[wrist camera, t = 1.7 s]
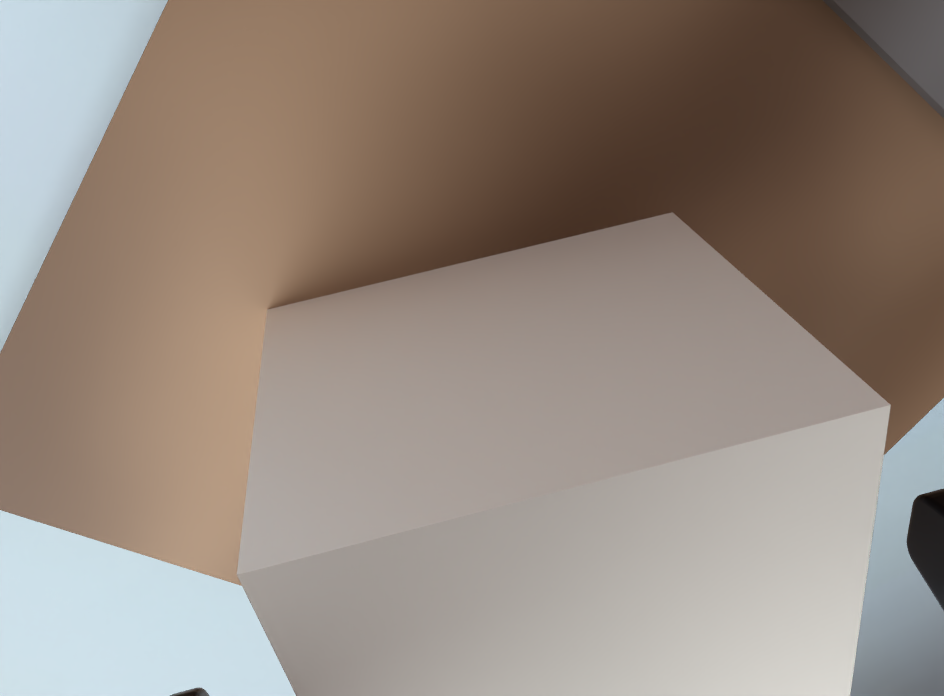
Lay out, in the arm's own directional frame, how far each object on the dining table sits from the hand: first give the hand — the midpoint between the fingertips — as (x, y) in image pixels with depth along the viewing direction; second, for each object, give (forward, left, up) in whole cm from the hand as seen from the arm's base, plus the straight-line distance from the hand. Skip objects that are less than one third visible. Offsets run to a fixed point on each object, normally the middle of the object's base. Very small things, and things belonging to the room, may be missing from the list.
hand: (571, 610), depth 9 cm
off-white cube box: (0, 0, -4) cm, 4 cm away
